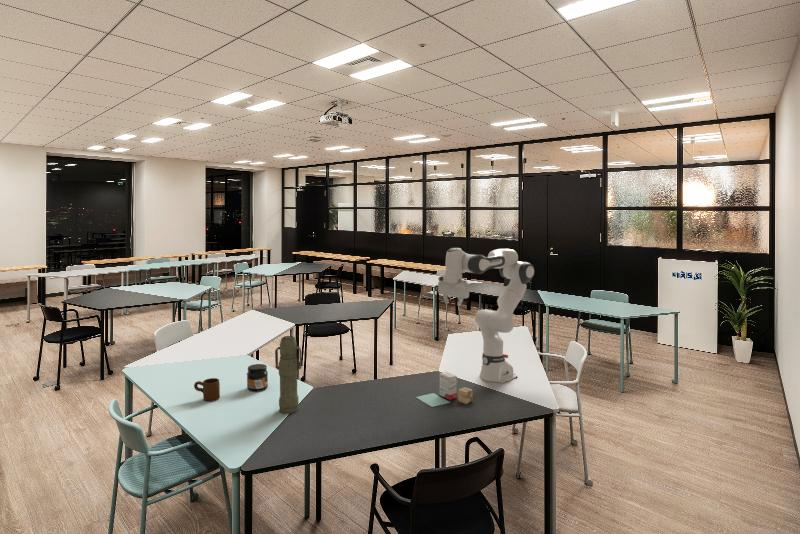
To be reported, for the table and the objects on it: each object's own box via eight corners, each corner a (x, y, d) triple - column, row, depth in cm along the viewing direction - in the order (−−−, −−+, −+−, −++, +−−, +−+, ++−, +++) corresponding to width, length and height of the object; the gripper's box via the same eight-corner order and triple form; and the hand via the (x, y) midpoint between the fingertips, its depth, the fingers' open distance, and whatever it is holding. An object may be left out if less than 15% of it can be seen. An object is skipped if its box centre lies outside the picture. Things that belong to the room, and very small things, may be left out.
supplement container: (259, 393, 234) (259, 370, 233) (242, 390, 238) (242, 368, 237) (271, 386, 244) (271, 364, 243) (255, 384, 248) (254, 362, 247)
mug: (191, 402, 222) (191, 383, 221) (197, 396, 229) (196, 378, 228) (217, 401, 223) (216, 383, 222) (221, 395, 230) (221, 377, 230)
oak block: (463, 398, 232) (464, 387, 231) (472, 401, 228) (472, 389, 228) (458, 401, 228) (458, 389, 228) (466, 404, 225) (466, 392, 224)
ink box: (457, 398, 231) (457, 375, 230) (449, 400, 229) (450, 377, 228) (446, 393, 239) (446, 371, 238) (438, 394, 236) (439, 372, 235)
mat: (433, 393, 238) (433, 393, 237) (450, 402, 226) (450, 402, 226) (415, 397, 232) (415, 397, 232) (431, 407, 220) (431, 406, 220)
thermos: (276, 407, 218) (275, 335, 214) (301, 405, 220) (301, 334, 216) (274, 414, 209) (273, 340, 206) (301, 413, 211) (300, 339, 208)
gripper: (472, 280, 234) (471, 306, 236) (444, 276, 250) (444, 301, 252) (463, 281, 230) (462, 308, 232) (436, 277, 246) (435, 302, 248)
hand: (452, 304), depth 242 cm, fingers open, 8 cm apart
